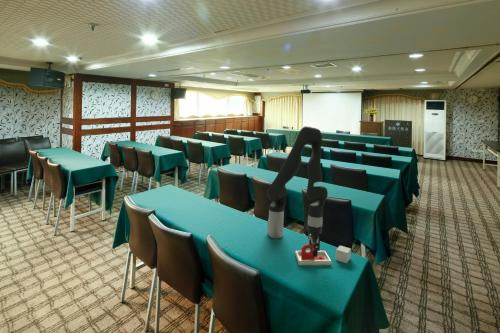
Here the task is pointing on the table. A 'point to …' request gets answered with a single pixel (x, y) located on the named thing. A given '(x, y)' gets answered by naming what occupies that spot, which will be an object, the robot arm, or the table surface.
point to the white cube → (343, 254)
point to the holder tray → (313, 262)
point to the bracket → (309, 253)
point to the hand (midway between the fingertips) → (312, 252)
